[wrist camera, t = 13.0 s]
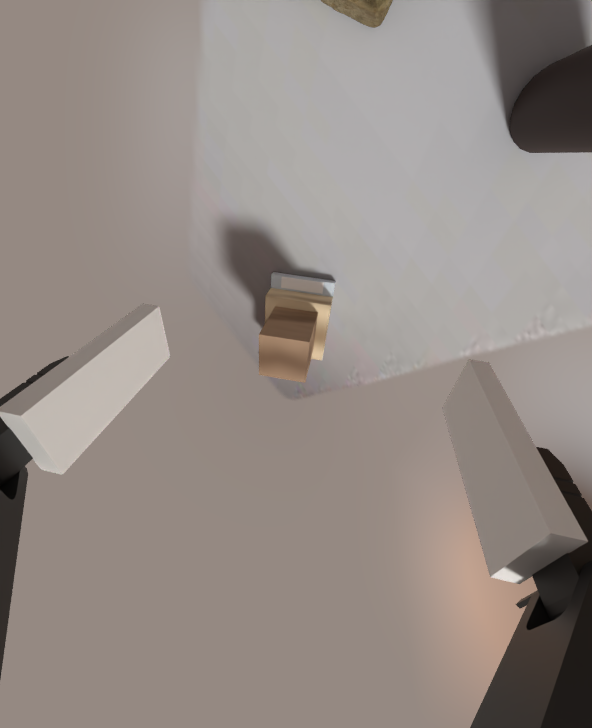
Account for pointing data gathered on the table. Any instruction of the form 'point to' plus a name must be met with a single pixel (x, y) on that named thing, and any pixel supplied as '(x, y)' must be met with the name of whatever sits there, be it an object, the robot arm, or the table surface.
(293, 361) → the walnut block
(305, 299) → the oak plinth
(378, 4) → the stone block
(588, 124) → the bottle
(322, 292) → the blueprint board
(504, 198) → the table surface
